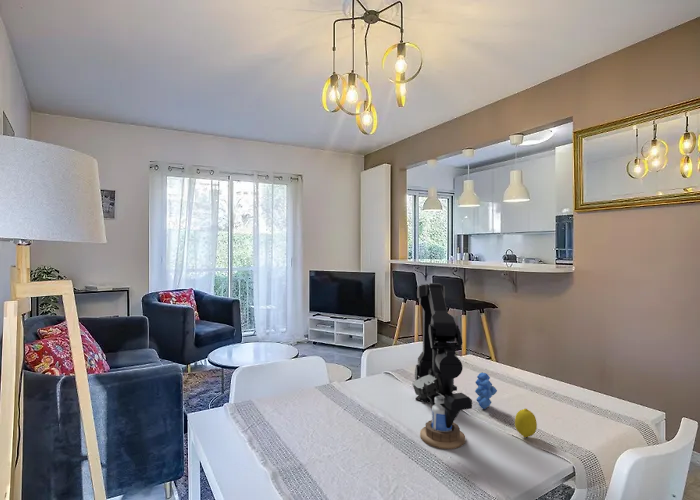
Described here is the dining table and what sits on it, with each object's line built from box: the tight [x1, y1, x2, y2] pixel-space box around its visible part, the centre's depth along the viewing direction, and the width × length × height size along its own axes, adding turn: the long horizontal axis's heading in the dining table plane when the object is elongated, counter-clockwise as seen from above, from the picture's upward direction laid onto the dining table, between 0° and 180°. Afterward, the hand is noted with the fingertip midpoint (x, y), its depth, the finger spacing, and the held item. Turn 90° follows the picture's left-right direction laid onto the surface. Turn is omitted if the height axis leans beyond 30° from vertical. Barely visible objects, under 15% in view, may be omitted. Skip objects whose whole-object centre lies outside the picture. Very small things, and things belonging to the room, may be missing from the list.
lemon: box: [514, 408, 538, 438], centre depth 110 cm, size 6×6×8 cm
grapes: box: [474, 372, 498, 410], centre depth 130 cm, size 12×7×12 cm, turn 177°
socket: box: [419, 419, 466, 450], centre depth 110 cm, size 12×12×3 cm
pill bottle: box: [431, 396, 452, 432], centre depth 110 cm, size 6×5×10 cm
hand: (442, 423), depth 110 cm, fingers closed on pill bottle, 5 cm apart
